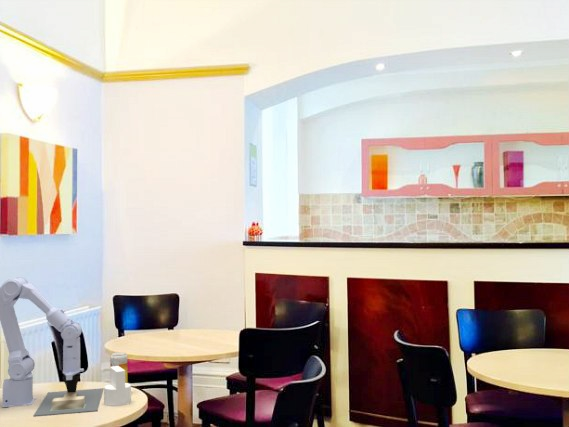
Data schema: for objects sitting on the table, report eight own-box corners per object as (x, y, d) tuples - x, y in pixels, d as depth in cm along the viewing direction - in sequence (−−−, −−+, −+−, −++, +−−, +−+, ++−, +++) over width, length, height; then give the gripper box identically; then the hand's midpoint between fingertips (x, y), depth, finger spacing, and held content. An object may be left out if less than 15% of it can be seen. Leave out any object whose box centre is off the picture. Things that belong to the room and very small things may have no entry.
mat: (33, 416, 187) (33, 415, 187) (48, 393, 214) (47, 392, 214) (97, 411, 192) (97, 410, 192) (103, 389, 219) (103, 388, 219)
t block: (52, 410, 192) (52, 401, 192) (56, 401, 202) (56, 393, 202) (83, 408, 194) (83, 399, 194) (86, 399, 204) (86, 391, 204)
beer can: (130, 392, 214) (129, 352, 215) (123, 397, 208) (123, 355, 209) (114, 392, 215) (114, 351, 215) (107, 396, 209) (107, 355, 209)
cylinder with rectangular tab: (134, 404, 199) (133, 369, 200) (108, 408, 195) (107, 373, 195) (126, 398, 207) (126, 364, 207) (101, 402, 202) (101, 368, 203)
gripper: (81, 360, 198) (81, 400, 198) (85, 352, 212) (85, 389, 212) (59, 362, 197) (59, 402, 196) (65, 353, 211) (65, 390, 210)
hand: (71, 395), depth 204 cm, fingers closed
